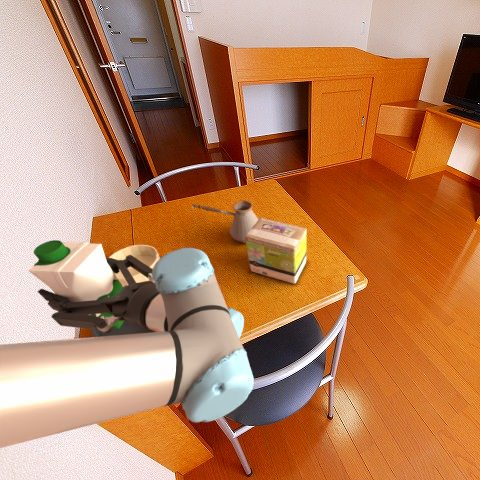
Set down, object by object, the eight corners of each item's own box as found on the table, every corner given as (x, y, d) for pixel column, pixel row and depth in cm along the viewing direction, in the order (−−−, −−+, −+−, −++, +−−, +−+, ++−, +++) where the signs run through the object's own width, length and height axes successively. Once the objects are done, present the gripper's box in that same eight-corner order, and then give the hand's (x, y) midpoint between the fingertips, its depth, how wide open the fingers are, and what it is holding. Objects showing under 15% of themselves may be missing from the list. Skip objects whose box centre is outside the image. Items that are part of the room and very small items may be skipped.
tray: (107, 370, 61) (100, 364, 59) (96, 334, 67) (90, 327, 65) (161, 339, 67) (157, 332, 65) (147, 308, 73) (142, 302, 71)
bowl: (116, 297, 76) (108, 287, 73) (104, 268, 83) (97, 258, 81) (169, 273, 83) (164, 263, 80) (154, 249, 91) (149, 238, 88)
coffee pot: (263, 224, 103) (259, 189, 93) (265, 245, 94) (260, 208, 84) (203, 230, 99) (192, 194, 89) (199, 252, 90) (187, 215, 81)
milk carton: (104, 298, 64) (53, 231, 52) (143, 299, 64) (101, 232, 52) (78, 331, 58) (12, 264, 45) (121, 333, 58) (68, 266, 45)
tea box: (249, 272, 84) (242, 235, 75) (264, 251, 91) (260, 215, 82) (295, 285, 81) (294, 248, 71) (307, 262, 88) (307, 226, 79)
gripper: (119, 375, 44) (22, 332, 50) (203, 279, 60) (123, 254, 65) (96, 352, 40) (-10, 307, 45) (194, 255, 55) (108, 230, 60)
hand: (69, 276), depth 55 cm, fingers closed on milk carton, 9 cm apart
